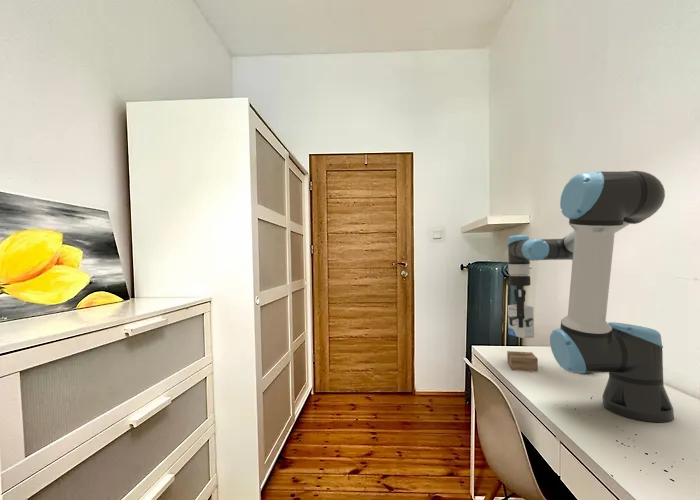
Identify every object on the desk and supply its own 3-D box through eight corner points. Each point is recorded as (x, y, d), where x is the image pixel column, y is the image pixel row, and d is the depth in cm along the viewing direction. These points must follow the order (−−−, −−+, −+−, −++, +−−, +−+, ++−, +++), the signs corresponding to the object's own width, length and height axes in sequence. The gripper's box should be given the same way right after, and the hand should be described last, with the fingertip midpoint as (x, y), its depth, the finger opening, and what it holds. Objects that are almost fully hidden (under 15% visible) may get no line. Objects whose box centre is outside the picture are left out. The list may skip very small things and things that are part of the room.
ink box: (507, 334, 139) (506, 304, 140) (517, 333, 141) (517, 303, 141) (524, 339, 131) (523, 307, 131) (534, 337, 133) (533, 306, 133)
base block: (538, 372, 130) (537, 358, 130) (511, 370, 132) (511, 357, 133) (532, 365, 139) (531, 352, 139) (507, 363, 141) (507, 351, 141)
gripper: (531, 276, 125) (532, 340, 125) (529, 273, 145) (531, 328, 144) (508, 276, 128) (509, 338, 128) (509, 273, 148) (510, 327, 147)
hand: (521, 333), depth 136 cm, fingers closed on ink box, 9 cm apart
